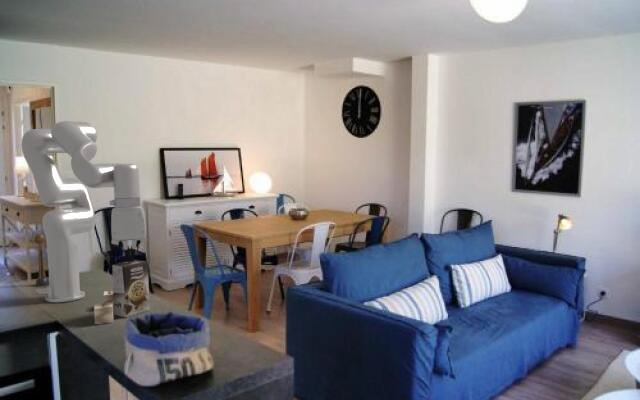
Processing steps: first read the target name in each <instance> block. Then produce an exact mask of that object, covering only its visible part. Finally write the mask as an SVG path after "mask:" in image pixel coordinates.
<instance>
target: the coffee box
mask: <svg viewBox="0 0 640 400" xmlns="http://www.w3.org/2000/svg"><path fill="white" fill-rule="evenodd" d="M149 287H150V286H149V263H148V261H147V260H137V259H133V262H131V260H130V262H128V261H125V262H120V263H114V264H112V289H113V290H112V291H113V297H114V309H113V316H119V317H121V318H130V317H133V316H137V315H139V314H142V313H145V312H149V311H150V289H149Z"/></svg>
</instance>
